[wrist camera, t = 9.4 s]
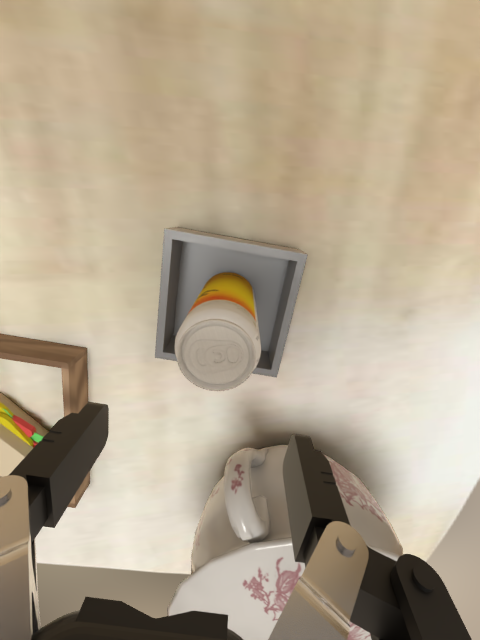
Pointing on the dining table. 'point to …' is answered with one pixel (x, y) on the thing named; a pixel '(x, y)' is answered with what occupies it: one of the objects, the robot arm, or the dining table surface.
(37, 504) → the robot arm
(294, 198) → the dining table surface
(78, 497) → the serving board rim
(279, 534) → the chamber pot
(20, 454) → the sandwich
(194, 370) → the beer can
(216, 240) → the box
